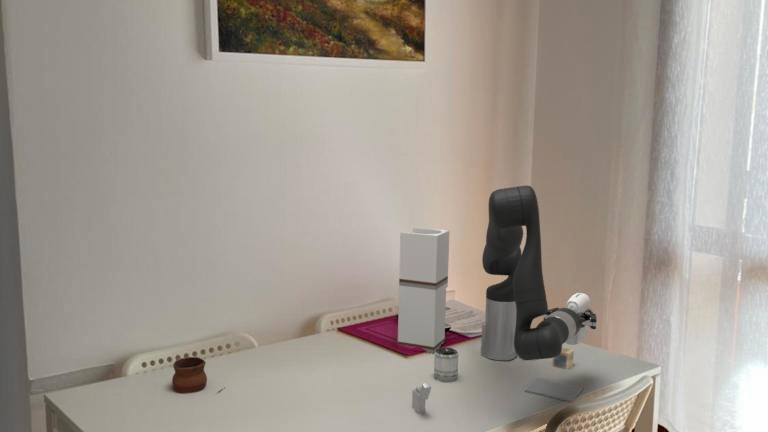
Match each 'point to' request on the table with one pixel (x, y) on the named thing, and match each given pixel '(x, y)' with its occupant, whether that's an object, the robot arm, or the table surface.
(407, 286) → the tall white banded vase
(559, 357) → the wooden block
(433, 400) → the table surface
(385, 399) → the table surface
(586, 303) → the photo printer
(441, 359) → the camera lens
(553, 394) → the felt pad
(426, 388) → the lighter
